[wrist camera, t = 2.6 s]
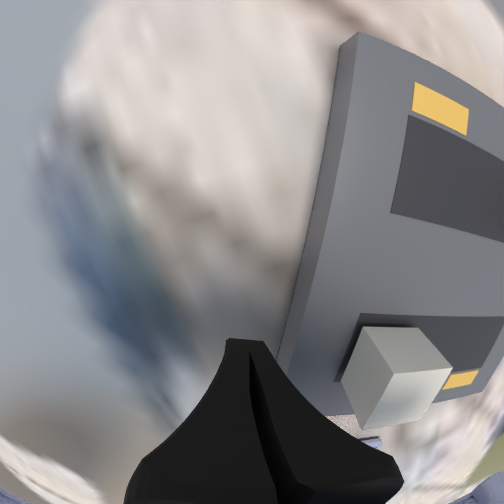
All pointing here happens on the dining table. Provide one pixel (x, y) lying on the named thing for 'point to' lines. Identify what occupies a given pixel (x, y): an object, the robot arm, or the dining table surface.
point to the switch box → (401, 225)
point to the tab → (393, 376)
